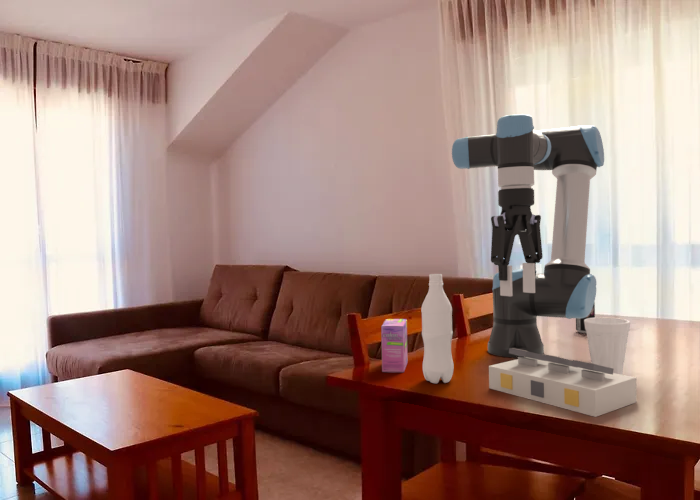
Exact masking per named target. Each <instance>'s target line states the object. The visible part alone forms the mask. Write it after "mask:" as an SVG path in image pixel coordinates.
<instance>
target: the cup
mask: <svg viewBox="0 0 700 500" xmlns="http://www.w3.org/2000/svg"><path fill="white" fill-rule="evenodd" d="M584 324H585V329H586V333H585V334H586V338H587V344H588V350H589V355H590V356H589V357H590V363H593V364H596V365H600V366H604V367H609V368H613V369H614V370H613V373H616V374H621V375H623V372H624V364H625V359H626V350H627V344H628V337H629V332H630V330H631V329H630V328H631V321H630V320H628V319H625V318H619V317H605V316H604V317H603V316H601V317H600V316H598V317H596V316H595V318H587V319H585V320H584Z"/></svg>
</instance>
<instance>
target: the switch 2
mask: <svg viewBox="0 0 700 500" xmlns="http://www.w3.org/2000/svg"><path fill="white" fill-rule="evenodd" d="M539 359H540V360H544V361H548V362H553V363H557V364H562V365H567V366H572V363H573V359H572V360H571V359H567V358H564V357H560V356H556V355H551V354H547V353H546V354H545V353H543V354H540V355H539ZM572 367H574V366H572Z"/></svg>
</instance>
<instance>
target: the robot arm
mask: <svg viewBox="0 0 700 500" xmlns="http://www.w3.org/2000/svg"><path fill="white" fill-rule="evenodd" d="M496 122H497V123H496V133H494V134H493V133H492V134H485V135H476V136H465V137H460V138H456V139H455V140H454V142H453V143H452V146H451V158H452V162H453V164H454V166H455V167H456V168H457V169H462V170H463V169H468V170H470V169H477V168H480V169H481V168H492V167H497V179H498V180H497V181H498V183H497V186H498V188H500V189H499V190H498V191H497V197H498V198H497V202H498V206H499V207H501V212H500V214H499V215H493V216H491V218H490V221H491V227H492V228H491V229H492V232H491V247H490V249H491V250H490V262H491V263H492V264H494V266H497V267H498V268H497V269H498V272H496V273H495V274H494V276H493V277H492V288H491V289H492V309H493V310H492V313H493V316H492V317H493V325H492V329H491V331H490V334H489V340H488V342H487V353H488V354H491V355H494V356H498V357H504V358H505V357H506V358H518V357H523V356H519V355H514V354H510V353H509V348H515V349H520V350H525V351H528V352H532V353H537V354H545V353H544V352H545V351H544V350H545V349H544V342H543V341H542V338H541V334H540V330H539V327H538V325H537V317H543V318H544V317H546V318H548V317H549V318H562V319H564V318H565V319H568V320H572V319H576V318H585V317H587V316H588V315H589V314H590V312H591V310H592V308H593V305H594V301H595V300H596V296H597V278H596V276H595V275H593V274H592V273H591V268H590V267H589V266H588V265H587V264H586V263H585V258H586V246H587V245H586V243H587V230H588V218H589V217H588V215H589V201H590V200H589V199H590V184H591V179H592V178H594V177H596V175H597V169H598V168H601V167H602V166H604V164H605V152H604V150H605V149H604V144H603V143H604V142H603V139H602V135H601V132H600V130H599V128H598V127H597V126H595V125H591V124H590V125H581V124H580V125H577V126H570V127H569V126H568V127H560V128H551V129H540V130H535V126H534V120H533V117H532V115H530V114H524V113H521V114H517V113H516V114H508V115H504V116H500V117H499V118H498V119H497V121H496ZM535 171H551V173H552V175H553V177H555V178H556V190H555V191H556V192H555V201H554V202H555V204H554V217H553V229H552V230H553V231H552V239H551V240H552V242H551V251H550V252H551V253H550V254H551V255H550V261H548V262H547V263H546V264H545V265H544V267H543V273H537V270H536V269H537V268H536V267H537V265H536V264H540V262H541V260H542V259H543V248H542V245H543V244H542V235H541V220H542V216H541V215H540V214H534V213H533V212H532V209H531V206H534V205H535V189H533V188H532V187H533V186H534V185H535ZM517 235H518V238H519V242H520V246H521V250H522V254H523V258H524V261H525V262H522V268H520V269H519V268H518V269H513V266H512V265H510V261H511V256H512V252H513V247H514V243H515V239H516V238H515V237H516V236H517Z"/></svg>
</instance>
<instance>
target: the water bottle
mask: <svg viewBox="0 0 700 500" xmlns="http://www.w3.org/2000/svg"><path fill="white" fill-rule="evenodd" d="M428 277H429V281H428V282H429V283H428V286H429V287H428V290H427V291H428V292H427V294H426V296H425V298H424V299H423V302H422V304H421V308H420V310H421V311H420V312H421V337H422V341H423V351H424V352H423V361H422V374H423V376H424V379H425V380H426V381H427V382H430V383H432V384H438V383H439V382H440V380H442V382H443V383H444V384H446V383H449V382H450V381H451V380H452V377H453V375H454V370H455V369H454V361H453V356H452V340H453V334H454V331H453V316H452V315H453V307H452V303H451V302H450V300H449V298H448V297H447V294H446V293H445V290H444V280H443V274H442V273H430V274H429V276H428Z"/></svg>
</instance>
